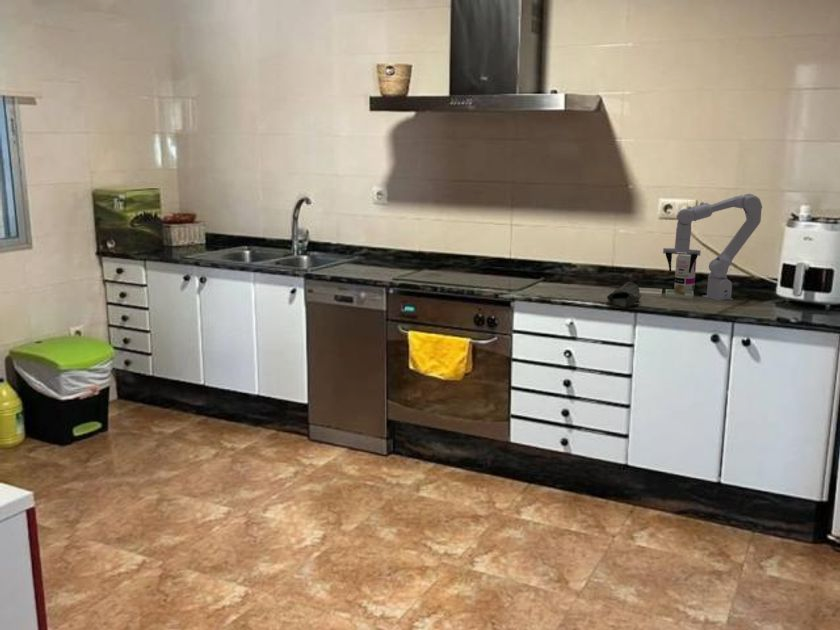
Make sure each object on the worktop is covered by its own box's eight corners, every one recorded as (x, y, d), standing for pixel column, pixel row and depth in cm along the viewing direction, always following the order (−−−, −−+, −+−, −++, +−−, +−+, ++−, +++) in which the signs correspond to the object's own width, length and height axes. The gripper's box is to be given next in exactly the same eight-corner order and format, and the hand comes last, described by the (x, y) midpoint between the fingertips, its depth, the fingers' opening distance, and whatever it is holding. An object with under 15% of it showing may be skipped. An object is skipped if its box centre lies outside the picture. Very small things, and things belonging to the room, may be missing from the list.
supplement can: (693, 288, 359) (696, 254, 356) (694, 291, 351) (697, 256, 348) (674, 287, 361) (676, 253, 358) (674, 290, 353) (676, 256, 350)
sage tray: (692, 294, 345) (693, 290, 344) (693, 300, 334) (693, 295, 334) (665, 293, 348) (665, 289, 347) (665, 298, 337) (665, 294, 337)
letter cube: (684, 294, 342) (684, 284, 341) (684, 296, 338) (685, 286, 338) (674, 294, 343) (674, 284, 342) (674, 295, 340) (674, 286, 339)
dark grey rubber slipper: (636, 309, 318) (650, 296, 340) (635, 290, 317) (649, 279, 338) (602, 308, 324) (618, 295, 346) (601, 290, 323) (617, 279, 344)
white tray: (661, 293, 348) (662, 288, 348) (661, 298, 338) (661, 293, 337) (634, 291, 351) (635, 287, 351) (633, 296, 341) (633, 292, 341)
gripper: (664, 239, 334) (661, 272, 337) (701, 241, 330) (698, 274, 333) (664, 236, 341) (661, 269, 344) (701, 239, 336) (698, 271, 340)
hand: (679, 271), depth 339 cm, fingers open, 7 cm apart
